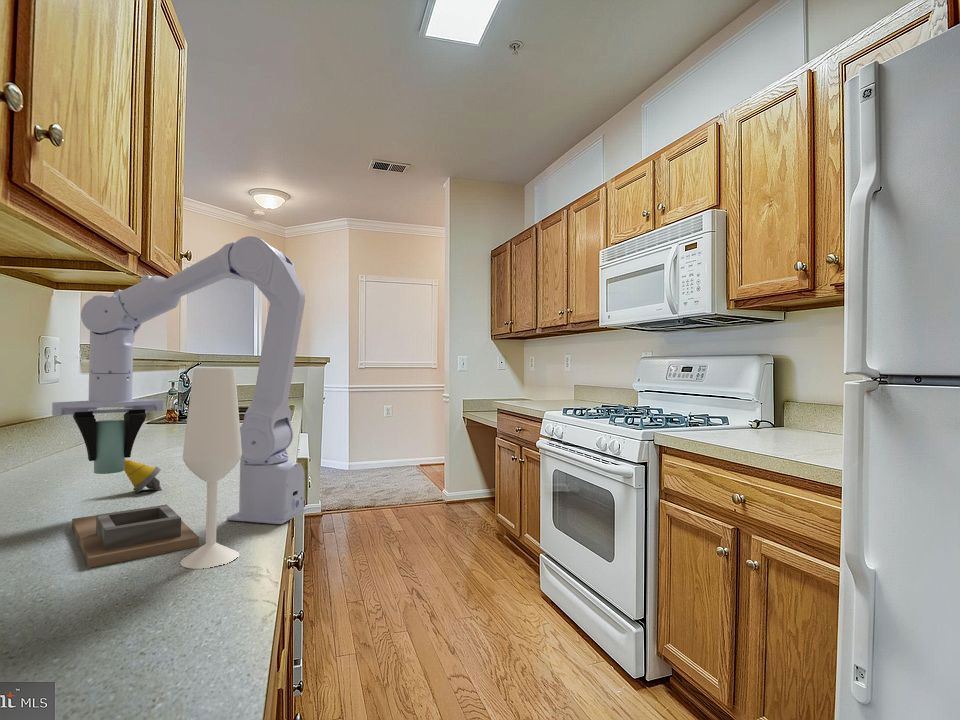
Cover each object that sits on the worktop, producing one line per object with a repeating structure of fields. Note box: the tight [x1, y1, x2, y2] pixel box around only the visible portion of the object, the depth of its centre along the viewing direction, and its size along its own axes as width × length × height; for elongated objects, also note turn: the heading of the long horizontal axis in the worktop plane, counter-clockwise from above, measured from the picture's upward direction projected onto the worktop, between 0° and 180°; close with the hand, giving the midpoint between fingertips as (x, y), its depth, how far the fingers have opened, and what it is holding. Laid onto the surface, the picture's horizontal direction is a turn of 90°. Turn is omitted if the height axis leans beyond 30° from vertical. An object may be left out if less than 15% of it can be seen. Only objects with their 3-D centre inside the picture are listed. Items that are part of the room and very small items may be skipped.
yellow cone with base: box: [123, 458, 163, 494], centre depth 98 cm, size 5×5×10 cm
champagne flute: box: [180, 367, 242, 570], centre depth 67 cm, size 7×7×24 cm
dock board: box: [71, 504, 200, 569], centre depth 74 cm, size 20×12×4 cm, turn 42°
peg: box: [93, 419, 126, 475], centre depth 84 cm, size 4×4×8 cm
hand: (109, 458), depth 84 cm, fingers closed on peg, 4 cm apart
